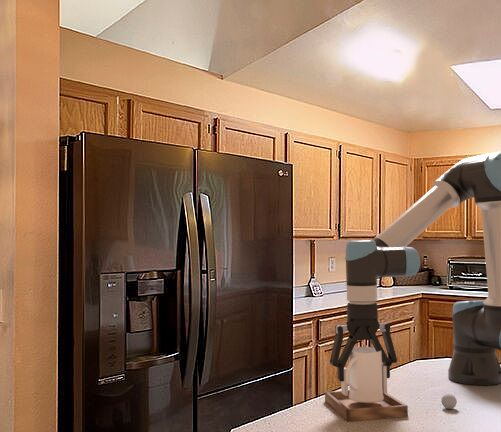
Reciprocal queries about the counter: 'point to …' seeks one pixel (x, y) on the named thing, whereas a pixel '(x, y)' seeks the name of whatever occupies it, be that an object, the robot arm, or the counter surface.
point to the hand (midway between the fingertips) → (364, 392)
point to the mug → (365, 375)
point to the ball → (449, 401)
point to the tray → (365, 407)
